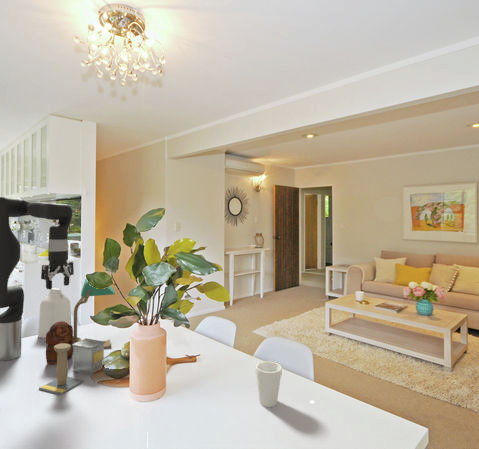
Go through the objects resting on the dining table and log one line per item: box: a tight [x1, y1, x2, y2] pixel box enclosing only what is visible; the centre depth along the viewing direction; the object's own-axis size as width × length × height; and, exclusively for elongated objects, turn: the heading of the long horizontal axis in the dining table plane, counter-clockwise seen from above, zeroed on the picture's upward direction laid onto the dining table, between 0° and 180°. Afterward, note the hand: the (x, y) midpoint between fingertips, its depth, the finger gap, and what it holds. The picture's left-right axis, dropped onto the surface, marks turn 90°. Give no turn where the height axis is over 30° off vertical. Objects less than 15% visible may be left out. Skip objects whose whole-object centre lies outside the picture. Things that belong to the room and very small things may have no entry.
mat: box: [38, 375, 85, 396], centre depth 127 cm, size 11×11×1 cm
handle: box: [54, 343, 71, 385], centre depth 127 cm, size 5×6×15 cm
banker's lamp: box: [71, 278, 116, 354], centre depth 165 cm, size 16×21×35 cm
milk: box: [37, 287, 72, 339], centre depth 183 cm, size 12×12×26 cm
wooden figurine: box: [45, 321, 74, 366], centre depth 150 cm, size 12×6×18 cm, turn 161°
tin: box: [72, 338, 105, 376], centre depth 141 cm, size 11×8×12 cm
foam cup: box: [255, 360, 283, 408], centre depth 118 cm, size 10×9×13 cm
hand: (57, 287), depth 140 cm, fingers open, 8 cm apart
